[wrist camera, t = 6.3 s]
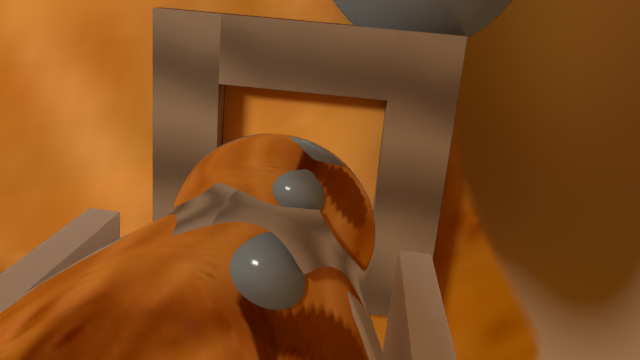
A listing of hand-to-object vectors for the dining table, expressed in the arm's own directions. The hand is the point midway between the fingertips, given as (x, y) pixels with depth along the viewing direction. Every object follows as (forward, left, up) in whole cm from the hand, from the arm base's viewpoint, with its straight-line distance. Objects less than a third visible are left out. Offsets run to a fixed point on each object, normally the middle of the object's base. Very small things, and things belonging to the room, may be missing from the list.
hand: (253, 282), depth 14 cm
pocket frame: (+4, -1, -23) cm, 23 cm away
